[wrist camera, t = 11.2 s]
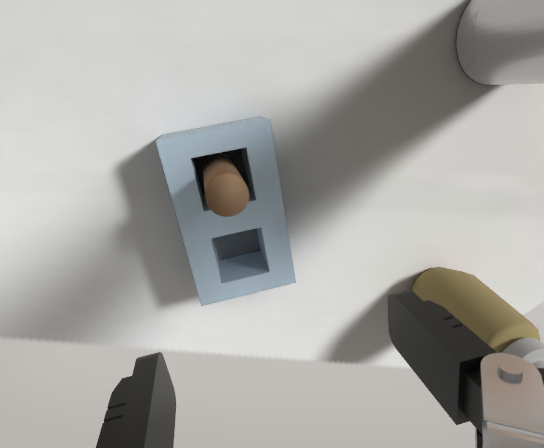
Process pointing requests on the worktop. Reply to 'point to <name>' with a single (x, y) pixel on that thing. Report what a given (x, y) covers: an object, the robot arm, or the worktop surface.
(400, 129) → the worktop surface
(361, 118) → the worktop surface
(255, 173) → the socket block
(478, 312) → the squeeze bottle
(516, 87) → the worktop surface
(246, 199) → the dowel
